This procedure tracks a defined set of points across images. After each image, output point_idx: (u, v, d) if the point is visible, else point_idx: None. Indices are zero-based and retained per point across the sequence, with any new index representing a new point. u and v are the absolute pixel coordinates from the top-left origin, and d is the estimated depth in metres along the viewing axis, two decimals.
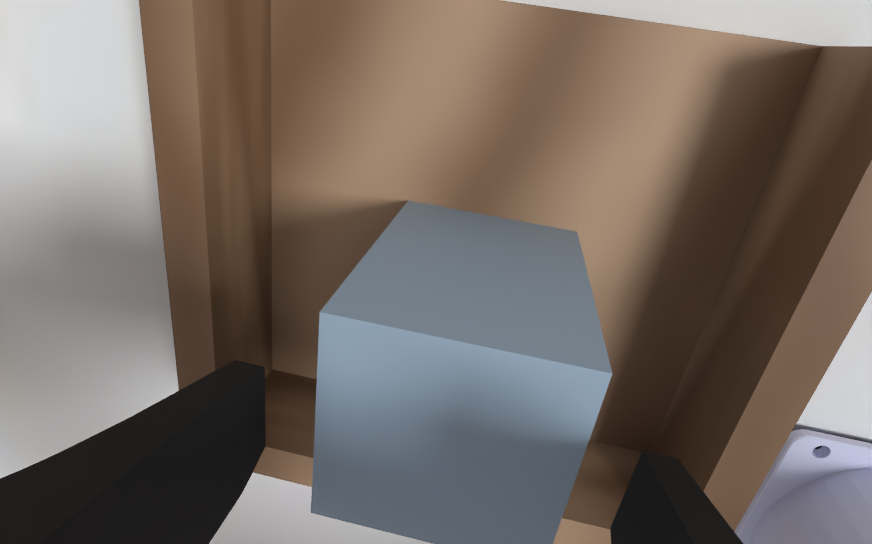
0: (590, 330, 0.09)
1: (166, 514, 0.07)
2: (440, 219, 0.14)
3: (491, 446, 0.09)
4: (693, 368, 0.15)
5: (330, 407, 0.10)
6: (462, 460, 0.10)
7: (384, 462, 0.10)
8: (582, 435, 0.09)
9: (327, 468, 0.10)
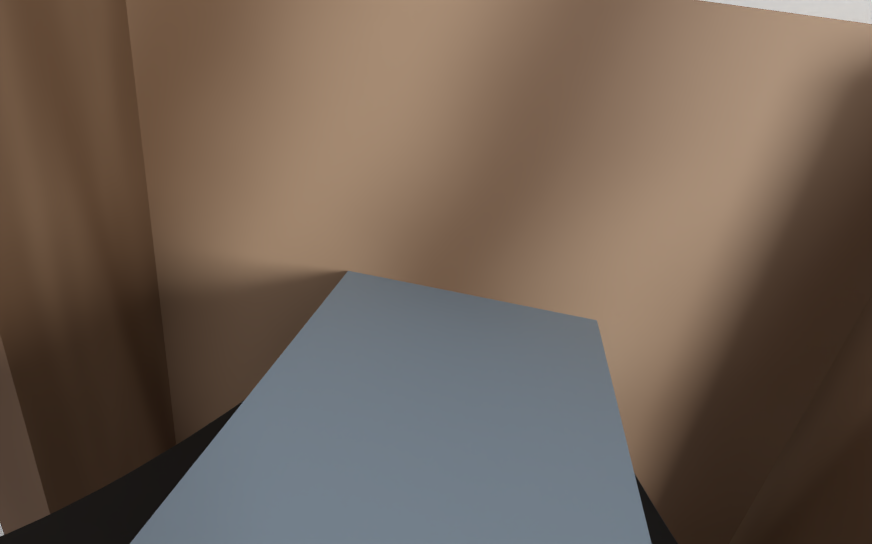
0: None
1: None
2: (390, 308, 0.09)
3: None
4: (764, 513, 0.10)
5: None
6: None
7: None
8: None
9: None
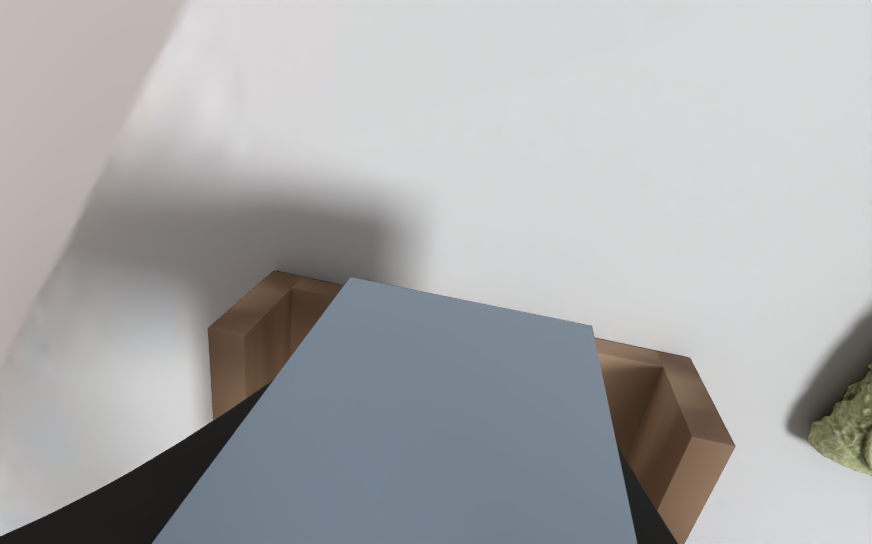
0: None
1: None
2: (391, 315, 0.09)
3: None
4: None
5: None
6: None
7: None
8: None
9: None
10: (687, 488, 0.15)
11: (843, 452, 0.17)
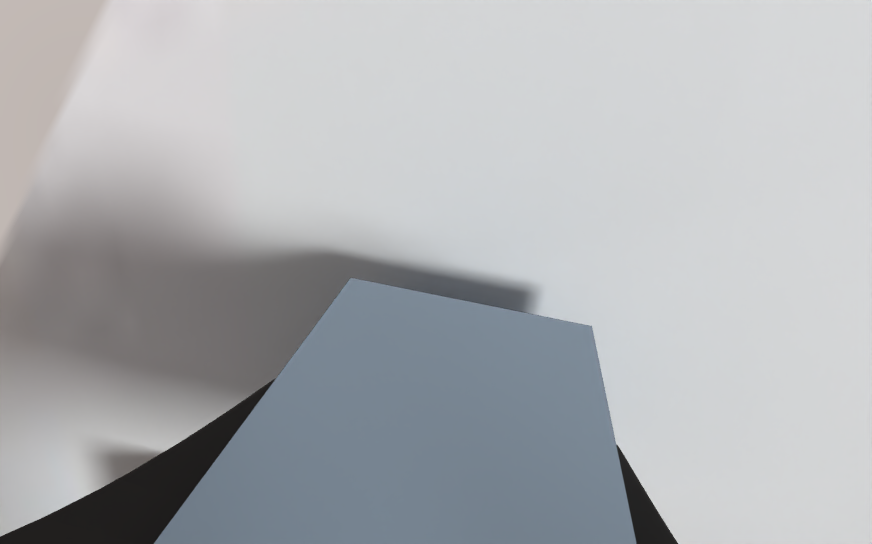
0: None
1: None
2: (391, 316, 0.09)
3: None
4: None
5: None
6: None
7: None
8: None
9: None
10: None
11: None
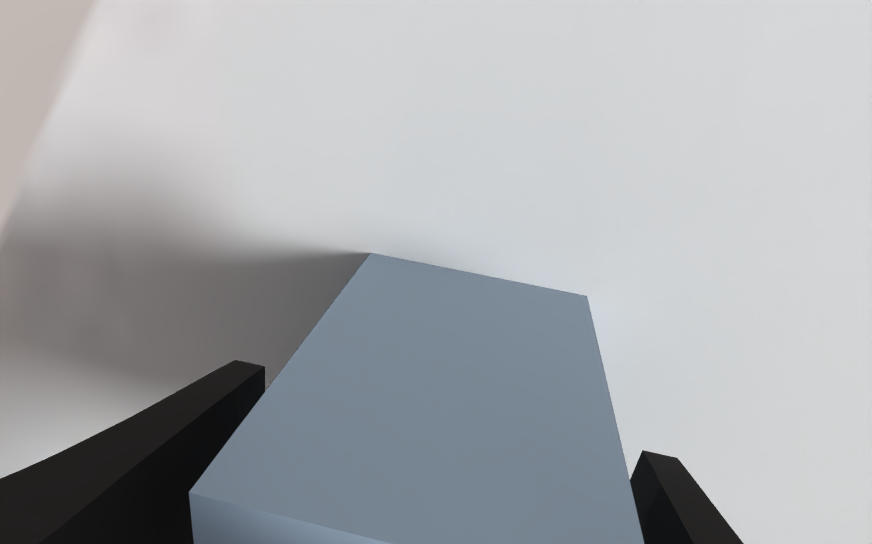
0: (616, 499, 0.06)
1: (166, 514, 0.07)
2: (409, 283, 0.11)
3: None
4: None
5: None
6: None
7: None
8: None
9: None
10: None
11: None
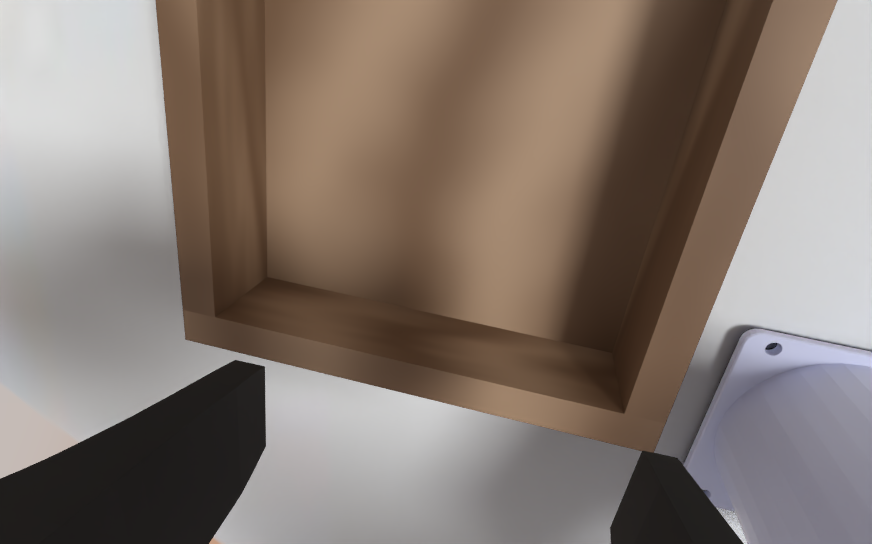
0: None
1: (166, 514, 0.07)
2: None
3: None
4: (646, 259, 0.16)
5: None
6: None
7: None
8: None
9: None
10: (795, 15, 0.11)
11: None
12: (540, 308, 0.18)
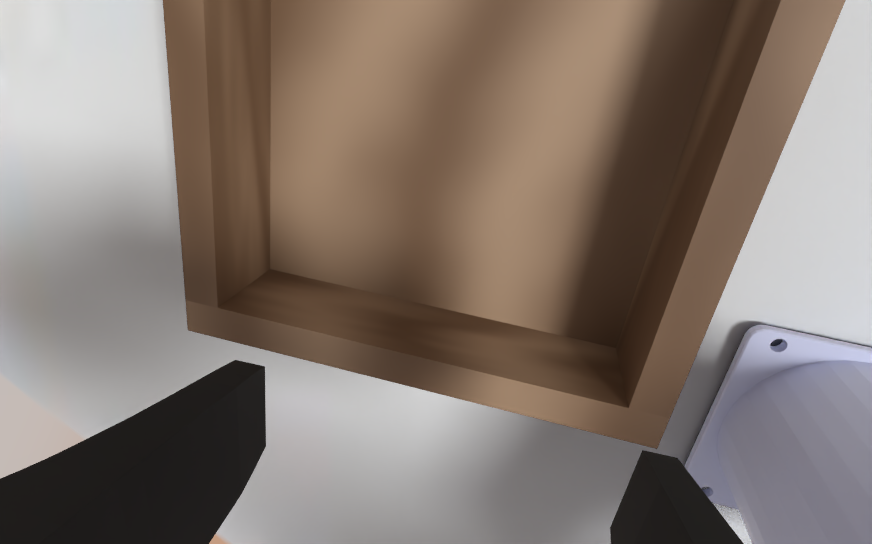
0: None
1: (166, 514, 0.07)
2: None
3: None
4: (651, 253, 0.16)
5: None
6: None
7: None
8: None
9: None
10: (807, 4, 0.11)
11: None
12: (544, 302, 0.18)
